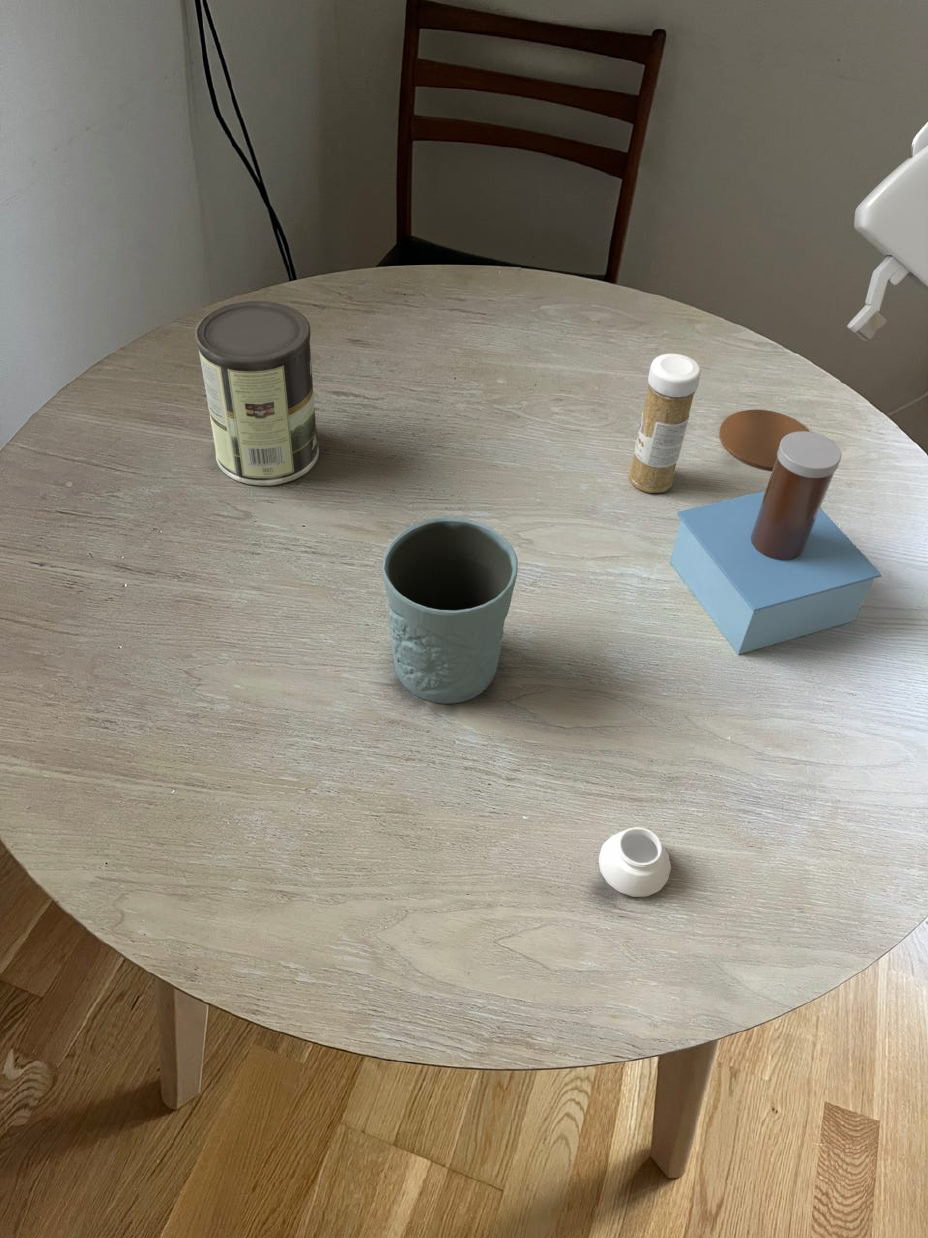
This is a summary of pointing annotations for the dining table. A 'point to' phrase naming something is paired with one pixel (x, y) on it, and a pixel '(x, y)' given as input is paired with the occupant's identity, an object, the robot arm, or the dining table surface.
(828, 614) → the storage box
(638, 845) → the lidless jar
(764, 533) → the cylinder
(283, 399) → the coffee can
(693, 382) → the sprinkles bottle
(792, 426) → the brown coaster
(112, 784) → the dining table surface
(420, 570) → the embossed green cup
